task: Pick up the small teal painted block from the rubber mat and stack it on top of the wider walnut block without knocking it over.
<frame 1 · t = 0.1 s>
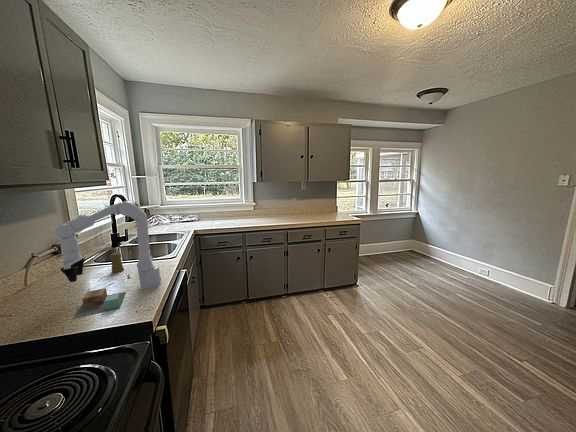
hand: (76, 278, 110), 10 cm above the countertop, fingers open, 7 cm apart
cork: (118, 271, 141), on the countertop
teal block: (113, 305, 105), resting on mat
walnut block: (96, 301, 108), resting on mat
mat: (102, 304, 106), on the countertop
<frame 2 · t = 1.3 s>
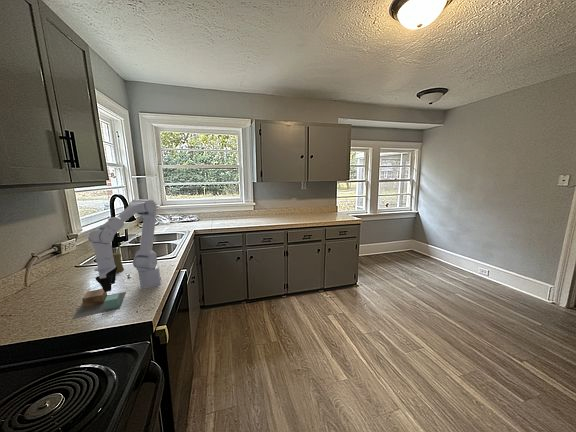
hand: (110, 287, 103), 9 cm above the countertop, fingers open, 7 cm apart
nothing on the countertop moved.
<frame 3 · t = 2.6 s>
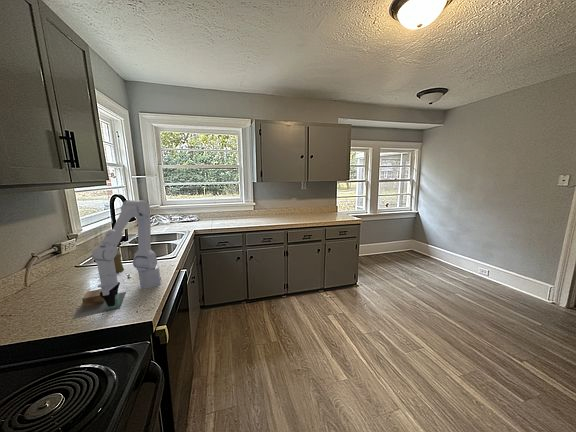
hand: (112, 302, 104), 2 cm above the countertop, fingers closed on teal block, 4 cm apart
teal block: (113, 305, 105), resting on mat, touching gripper
everything else where it was.
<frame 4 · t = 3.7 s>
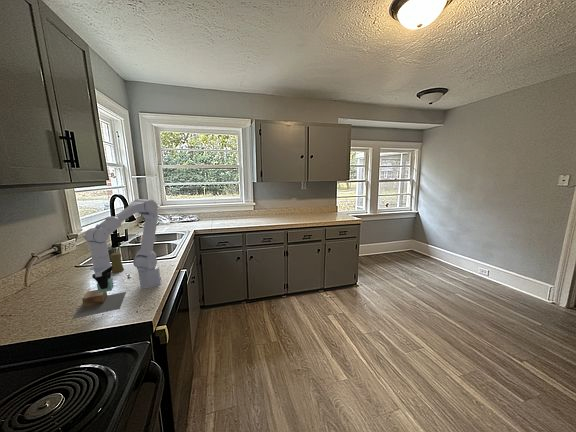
hand: (105, 285, 104), 9 cm above the countertop, fingers closed on teal block, 4 cm apart
teal block: (106, 289, 104), point 8 cm above the countertop, touching gripper
everything else where it was.
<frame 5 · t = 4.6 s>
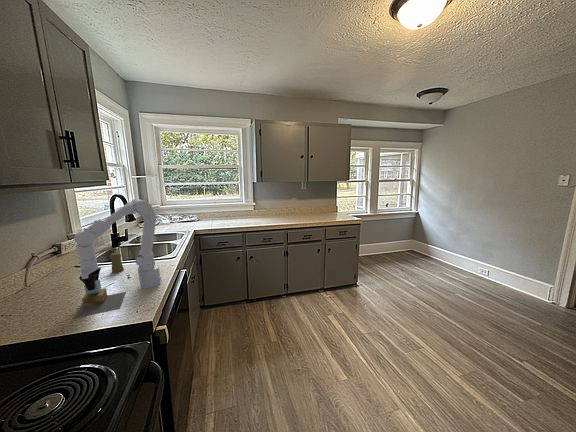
hand: (93, 287, 107), 7 cm above the countertop, fingers closed on teal block, 4 cm apart
teal block: (93, 290, 107), point 6 cm above the countertop, touching gripper
everything else where it was.
when the fingers open (7 cm above the countertop, at t = 5.1 s): teal block stays where it is, resting on walnut block.
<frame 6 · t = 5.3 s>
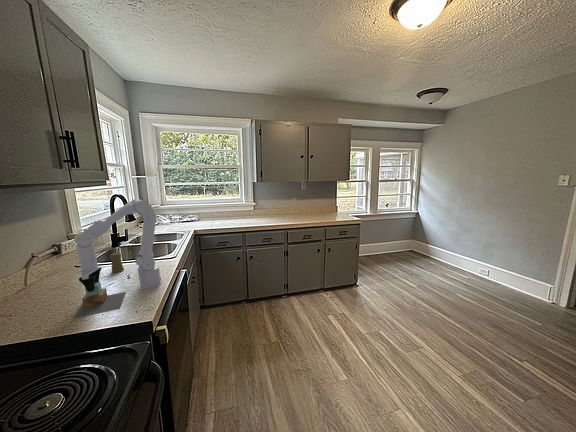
hand: (93, 287, 107), 7 cm above the countertop, fingers open, 6 cm apart
teal block: (94, 293, 108), point 4 cm above the countertop, touching walnut block
walnut block: (96, 301, 108), resting on mat, touching teal block
everything else where it was.
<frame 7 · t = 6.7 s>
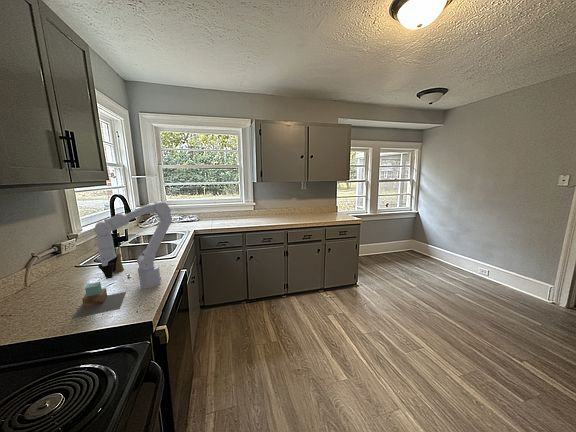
hand: (111, 274, 113), 10 cm above the countertop, fingers open, 7 cm apart
nothing on the countertop moved.
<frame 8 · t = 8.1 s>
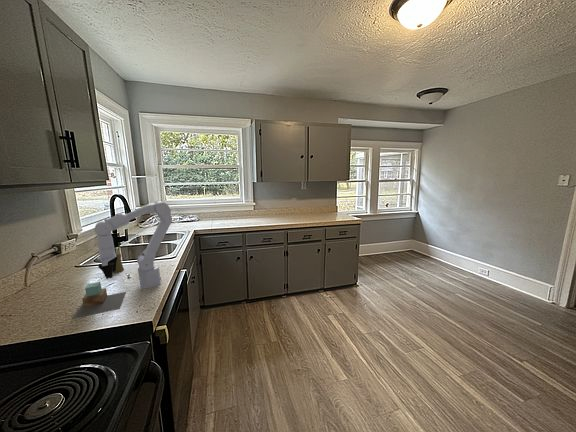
hand: (111, 274, 113), 10 cm above the countertop, fingers open, 7 cm apart
nothing on the countertop moved.
at the end: teal block 0.1 cm off-centre on the walnut block, point 4.0 cm above the walnut block's base; walnut block tilted 0°; walnut block moved 0.0 cm from its start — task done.
